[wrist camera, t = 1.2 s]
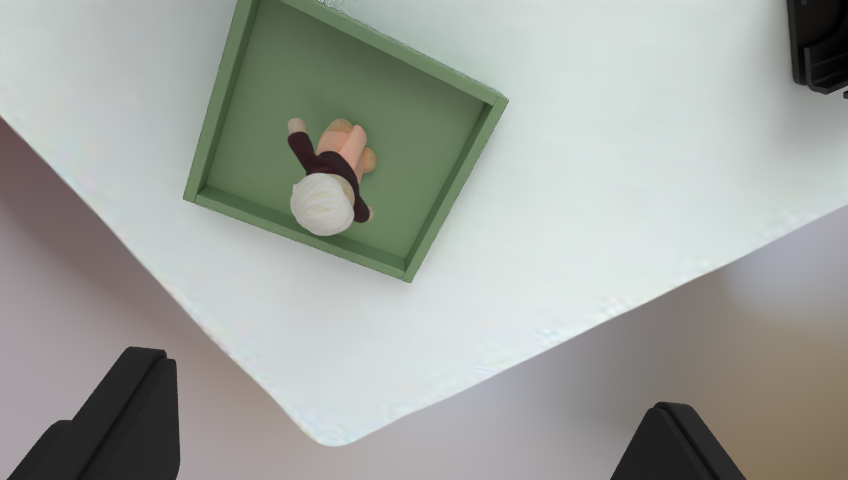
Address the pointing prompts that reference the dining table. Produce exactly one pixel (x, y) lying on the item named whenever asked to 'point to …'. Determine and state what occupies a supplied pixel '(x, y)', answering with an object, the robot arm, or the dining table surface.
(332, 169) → the grandmother figurine
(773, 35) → the dining table surface
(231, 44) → the tray
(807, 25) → the end cap
